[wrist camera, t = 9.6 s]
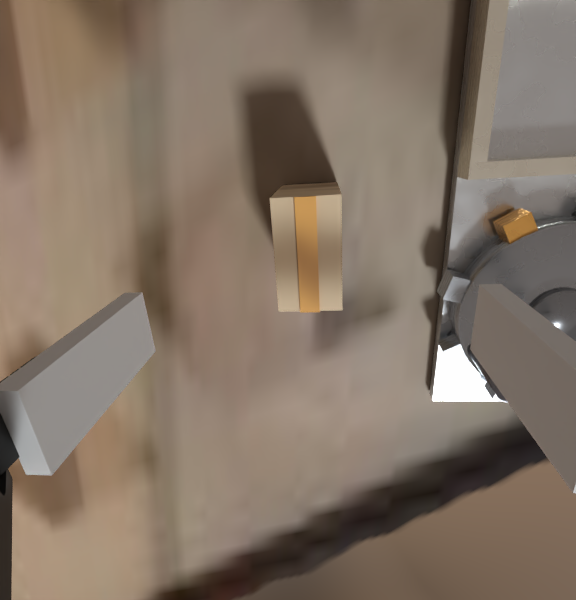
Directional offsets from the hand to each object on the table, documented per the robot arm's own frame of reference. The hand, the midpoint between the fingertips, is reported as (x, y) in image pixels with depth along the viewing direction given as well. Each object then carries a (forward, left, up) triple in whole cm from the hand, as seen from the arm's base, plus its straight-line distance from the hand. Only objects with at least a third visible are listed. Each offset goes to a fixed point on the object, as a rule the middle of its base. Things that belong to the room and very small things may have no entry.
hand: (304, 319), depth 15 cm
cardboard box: (0, 0, -15) cm, 15 cm away
